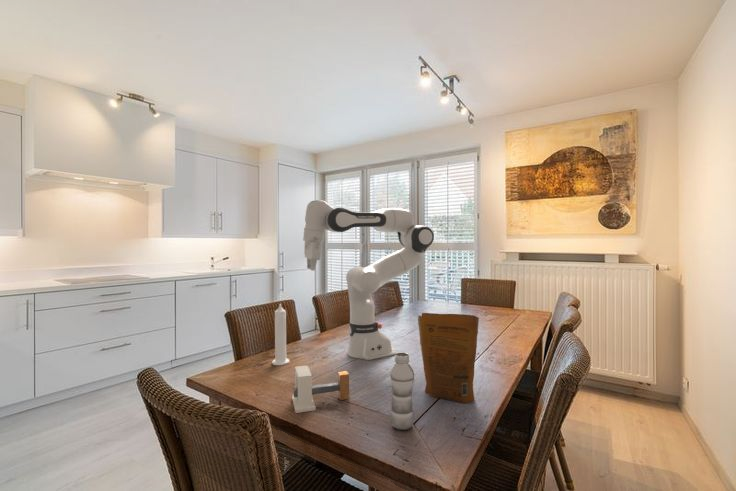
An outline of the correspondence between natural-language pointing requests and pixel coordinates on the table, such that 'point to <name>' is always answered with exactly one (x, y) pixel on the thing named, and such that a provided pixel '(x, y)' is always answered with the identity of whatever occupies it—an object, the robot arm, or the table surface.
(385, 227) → the robot arm
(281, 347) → the candle
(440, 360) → the pancake mix bag
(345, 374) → the wooden mallet
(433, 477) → the table surface
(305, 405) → the block
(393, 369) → the plastic bottle
